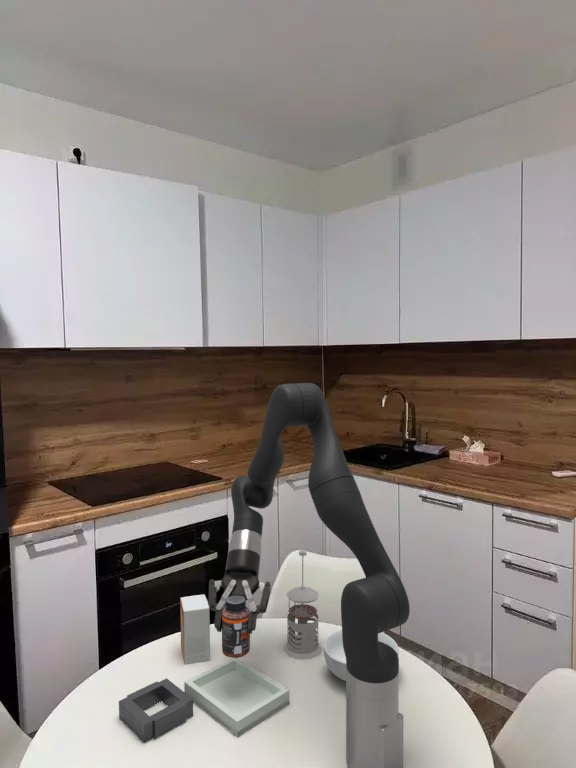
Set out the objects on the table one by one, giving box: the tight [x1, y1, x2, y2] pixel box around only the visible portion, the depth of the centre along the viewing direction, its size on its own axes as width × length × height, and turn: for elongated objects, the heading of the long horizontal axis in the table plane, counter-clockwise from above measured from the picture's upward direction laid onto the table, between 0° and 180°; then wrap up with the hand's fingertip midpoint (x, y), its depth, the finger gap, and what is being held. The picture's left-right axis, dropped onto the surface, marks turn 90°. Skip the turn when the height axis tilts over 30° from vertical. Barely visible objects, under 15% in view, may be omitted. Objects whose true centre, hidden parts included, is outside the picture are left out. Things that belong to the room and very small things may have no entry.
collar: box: [118, 678, 194, 744], centre depth 107 cm, size 11×11×4 cm
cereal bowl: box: [323, 629, 399, 682], centre depth 121 cm, size 17×17×7 cm
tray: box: [183, 657, 290, 738], centre depth 112 cm, size 18×14×3 cm
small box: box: [179, 594, 211, 665], centre depth 130 cm, size 8×6×13 cm
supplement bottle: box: [221, 596, 251, 659], centre depth 112 cm, size 6×6×11 cm
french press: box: [282, 549, 323, 660], centre depth 133 cm, size 10×12×25 cm
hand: (234, 631), depth 110 cm, fingers closed on supplement bottle, 6 cm apart
